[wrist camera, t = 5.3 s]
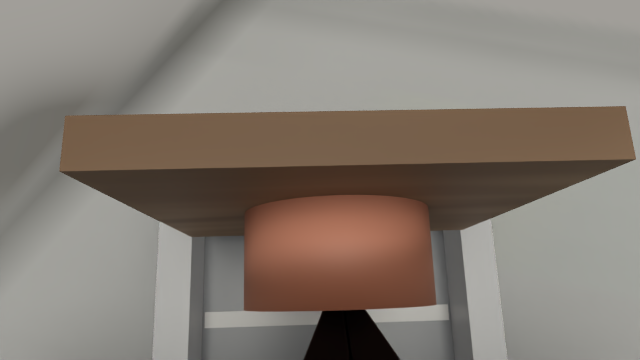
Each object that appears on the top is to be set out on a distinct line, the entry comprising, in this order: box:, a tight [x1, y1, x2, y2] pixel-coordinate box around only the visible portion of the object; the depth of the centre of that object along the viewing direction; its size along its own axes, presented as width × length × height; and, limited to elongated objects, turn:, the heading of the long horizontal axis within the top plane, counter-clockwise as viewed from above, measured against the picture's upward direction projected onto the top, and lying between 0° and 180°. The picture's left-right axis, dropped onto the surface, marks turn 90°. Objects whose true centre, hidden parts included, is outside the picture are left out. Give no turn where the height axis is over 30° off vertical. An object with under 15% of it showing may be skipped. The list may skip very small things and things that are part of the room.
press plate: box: [60, 106, 636, 312], centre depth 10 cm, size 3×8×8 cm, turn 92°
